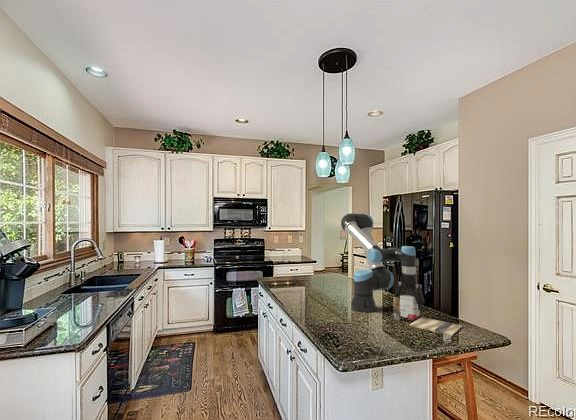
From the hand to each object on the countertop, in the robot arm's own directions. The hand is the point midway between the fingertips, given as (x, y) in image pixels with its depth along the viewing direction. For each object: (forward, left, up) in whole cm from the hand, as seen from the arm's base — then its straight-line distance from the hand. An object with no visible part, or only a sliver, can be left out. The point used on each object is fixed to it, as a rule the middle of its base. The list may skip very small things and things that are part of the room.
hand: (409, 313), depth 171 cm
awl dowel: (-3, -9, -2) cm, 10 cm away
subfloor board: (+16, -5, -2) cm, 17 cm away
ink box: (0, 0, -2) cm, 2 cm away
